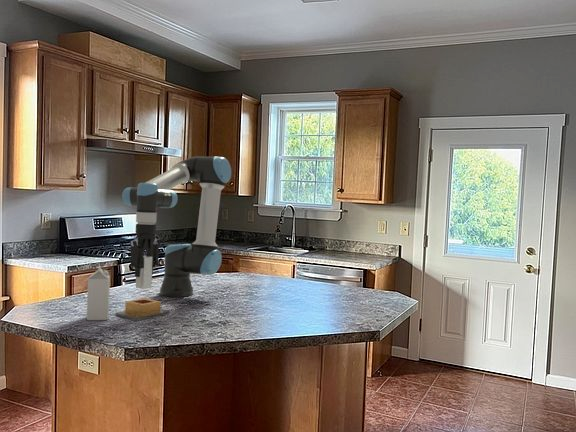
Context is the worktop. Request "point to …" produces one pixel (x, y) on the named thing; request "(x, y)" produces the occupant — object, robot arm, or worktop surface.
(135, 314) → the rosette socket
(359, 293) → the worktop surface
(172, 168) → the robot arm
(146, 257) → the white tall block
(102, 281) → the milk carton
